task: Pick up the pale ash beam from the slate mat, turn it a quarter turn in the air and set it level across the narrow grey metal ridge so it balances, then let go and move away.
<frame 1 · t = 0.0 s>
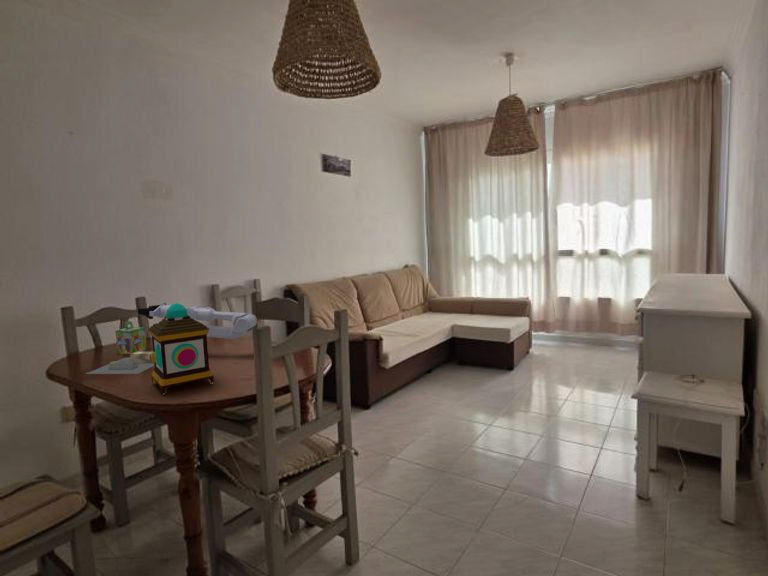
hand: (143, 309, 202), 22 cm above the table, tool horizontal, fingers open, 7 cm apart
decorative lantern: (183, 385, 163), on the table
mat: (130, 366, 190), on the table
chalk box: (132, 353, 214), on the table
beam: (147, 361, 194), point 1 cm above the table, touching mat
fulcrum: (123, 368, 185), resting on mat
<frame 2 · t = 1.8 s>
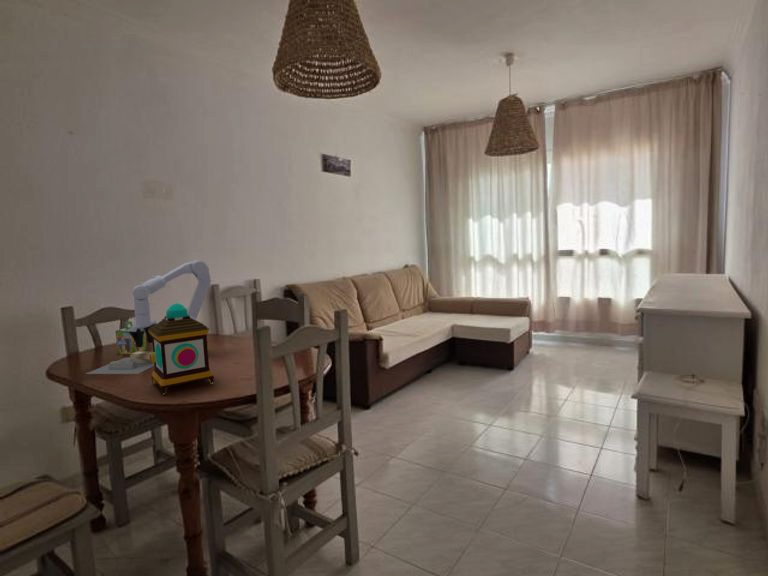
hand: (145, 344, 193), 8 cm above the table, tool pointing down, fingers open, 7 cm apart
nothing on the table moved.
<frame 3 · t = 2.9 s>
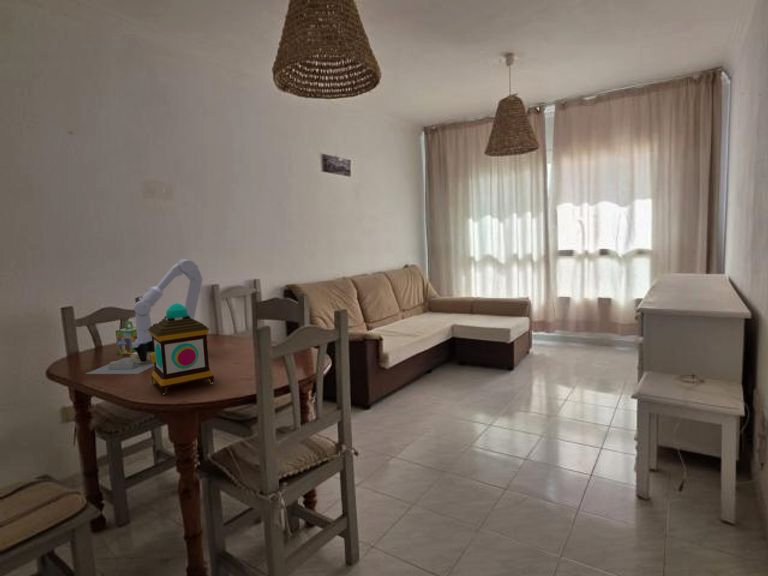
hand: (146, 359, 194), 1 cm above the table, tool pointing down, fingers closed on beam, 4 cm apart
beam: (147, 361, 194), point 1 cm above the table, touching gripper, mat
everything else where it was.
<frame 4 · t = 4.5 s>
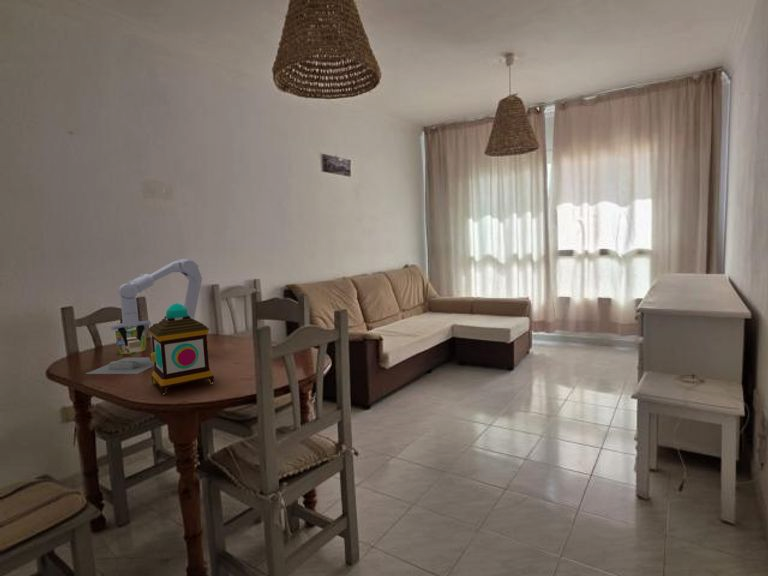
hand: (132, 344, 188), 9 cm above the table, tool pointing down, fingers closed on beam, 4 cm apart
beam: (133, 349, 188), point 8 cm above the table, touching gripper
everything else where it was.
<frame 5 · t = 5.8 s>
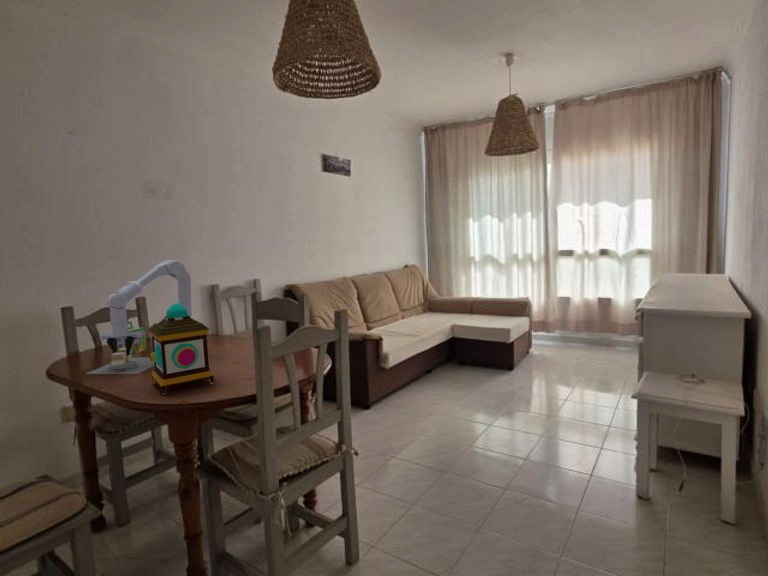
hand: (122, 355, 184), 6 cm above the table, tool pointing down, fingers closed on beam, 4 cm apart
beam: (122, 360, 184), point 4 cm above the table, touching gripper
everything else where it was.
when the fingers open (5 cm above the table, at t = 6.4 s): beam stays where it is, resting on fulcrum.
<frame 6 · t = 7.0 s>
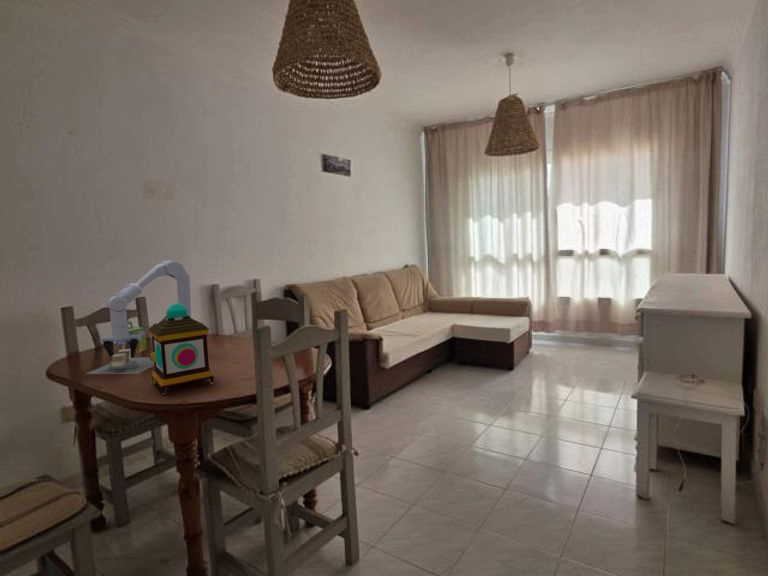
hand: (122, 358, 185), 5 cm above the table, tool pointing down, fingers open, 7 cm apart
beam: (122, 362, 185), point 3 cm above the table, touching fulcrum
everything else where it was.
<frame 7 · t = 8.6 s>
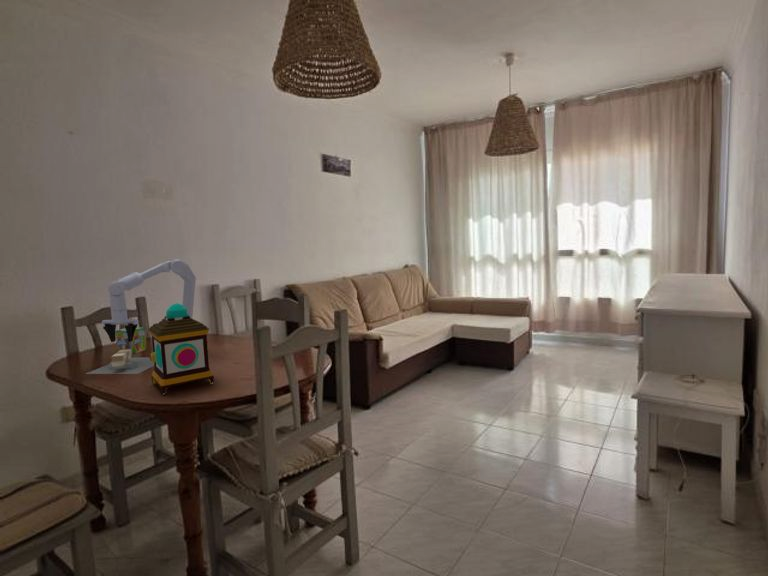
hand: (122, 341, 191), 10 cm above the table, tool pointing down, fingers open, 7 cm apart
nothing on the table moved.
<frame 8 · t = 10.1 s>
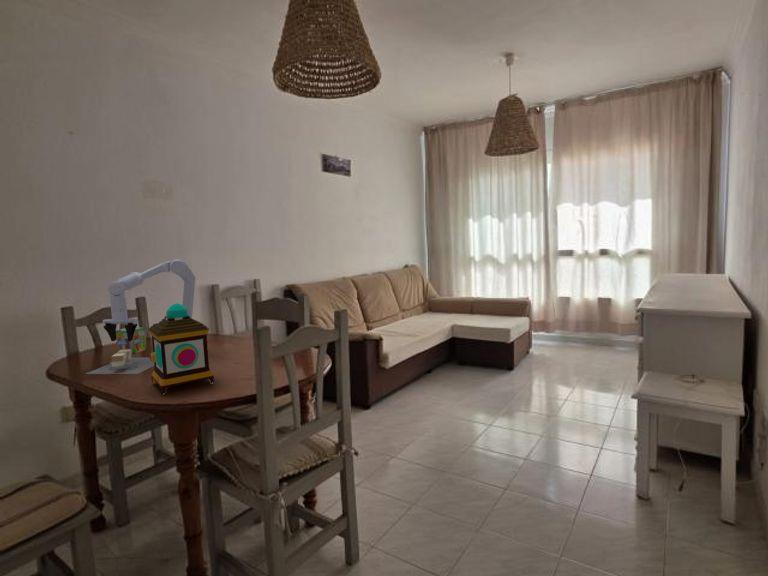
hand: (122, 340, 192), 10 cm above the table, tool pointing down, fingers open, 7 cm apart
nothing on the table moved.
at the end: beam 0.3 cm off-centre on the fulcrum, point 2.7 cm above the fulcrum's base; beam tilted 0°; beam touching fulcrum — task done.
